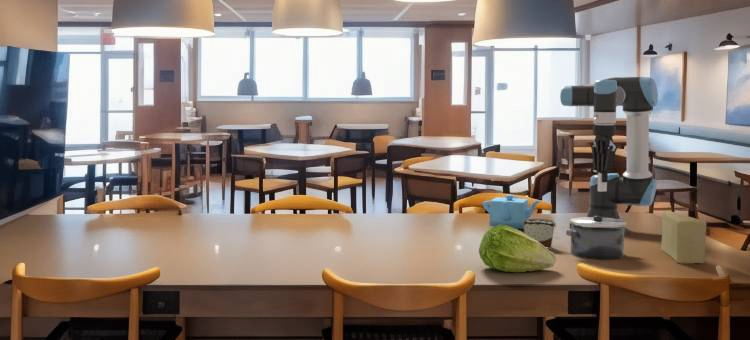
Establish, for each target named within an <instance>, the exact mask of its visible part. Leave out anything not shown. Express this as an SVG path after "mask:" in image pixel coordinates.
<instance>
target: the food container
mask: <svg viewBox="0 0 750 340" xmlns="http://www.w3.org/2000/svg"><path fill="white" fill-rule="evenodd" d="M522 225H524V228H523V233H524V234H526V235H527V236H529V237H531V238H533V239H534V240H536V241H538V242H539V243H541V244H542V245H543V246H544V247H548V248H547V249H552V244H553V237H554V230H555V229H554V228H556V227H557V226H556V222H555V220H552V219H549V218H540V217H539V218H537V217H536V218H535V217H534V218H533V217H532V218H531V217H530V218H528V219H524V221H523V223H522Z"/></svg>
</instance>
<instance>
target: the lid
mask: <svg viewBox="0 0 750 340" xmlns="http://www.w3.org/2000/svg"><path fill="white" fill-rule="evenodd" d="M569 221H570V222H569V225H570V224H572V225H575V226H581V227H589V228H620V227H624V228H626V227H627V221H626V220H624V219H621V218H620V219H614V218H604V217H602V216H594V217H586V216H583V217H582V216H581V217H580V216H579V217H573V218H570V219H569Z"/></svg>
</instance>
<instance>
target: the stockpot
mask: <svg viewBox="0 0 750 340" xmlns="http://www.w3.org/2000/svg"><path fill="white" fill-rule="evenodd" d="M565 233H566V236H569V237H570V254H571V255H573V256H575V257H579V258H583V259H589V260H602V261H603V260H604V261H605V260H606V261H607V260H608V261H609V260H618V259H622V258H623V257H624V251H625V250H624V248H625V245H624V244H625V234H629V228H626V227H620V228H589V227H581V226H575V225H572V224H570V223H569V229H567V230H566V232H565Z"/></svg>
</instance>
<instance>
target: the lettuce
mask: <svg viewBox="0 0 750 340" xmlns="http://www.w3.org/2000/svg"><path fill="white" fill-rule="evenodd" d="M478 255H479V256H480V259H481V261H482V262H483V263H484V265H485V266H487V267H488V268H491V269H494V270H498V271H501V272H505V273H507V272H508V273H526V271H529V272H533V271H539V270H545V269H549V268H553V267H554V266H555V264H557V263H556V262H557V255H556V254H554V253H553V252H552V251H550V250H549V248H546V247H544V246H543V245H542V244H541V243H539V242H538V241H536V240H534V239H533V238H531V237H529V236H527V235H526V234H525V233H524V231H522V230H520V229H518V230H517V229H514V228H512V227H509V226H506V225H501V224H500V225H498V226H492V227H490V228H489V229H488V230H486V232H485V233H484V234H483V236H482V238H481V240H480V243H479V248H478Z"/></svg>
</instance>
